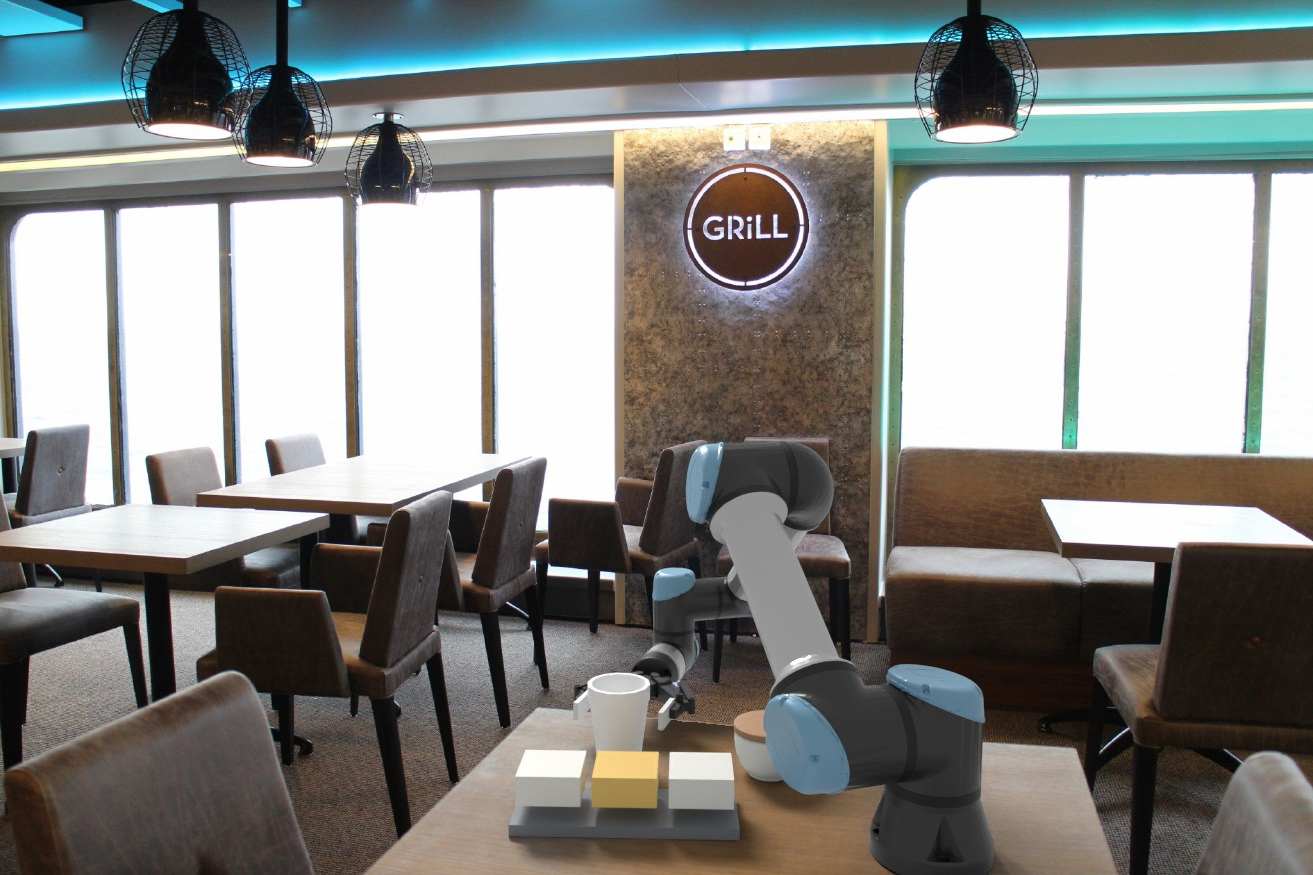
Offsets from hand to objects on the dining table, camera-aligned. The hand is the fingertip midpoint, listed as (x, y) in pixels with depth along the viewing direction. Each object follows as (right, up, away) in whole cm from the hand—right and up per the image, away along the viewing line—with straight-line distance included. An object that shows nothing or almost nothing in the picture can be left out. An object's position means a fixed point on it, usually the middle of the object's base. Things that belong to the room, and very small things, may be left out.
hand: (617, 716), depth 148 cm
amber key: (+2, -6, -16) cm, 17 cm away
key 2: (+12, -6, -17) cm, 21 cm away
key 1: (-8, -6, -16) cm, 19 cm away
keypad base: (+2, -9, -16) cm, 19 cm away
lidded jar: (+23, -8, -2) cm, 24 cm away
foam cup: (0, -8, 0) cm, 8 cm away
